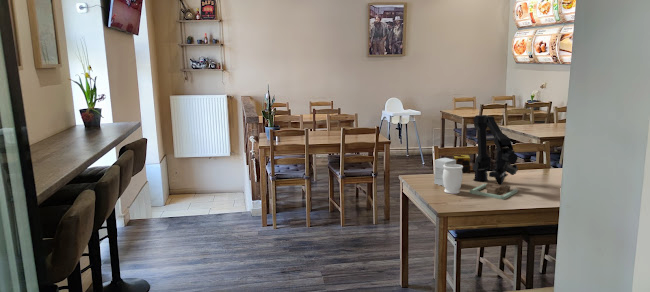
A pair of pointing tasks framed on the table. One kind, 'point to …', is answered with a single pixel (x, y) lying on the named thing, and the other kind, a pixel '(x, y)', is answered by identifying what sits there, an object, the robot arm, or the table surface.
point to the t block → (497, 188)
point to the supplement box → (441, 169)
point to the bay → (476, 191)
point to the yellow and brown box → (463, 162)
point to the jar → (452, 178)
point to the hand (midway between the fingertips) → (500, 186)
